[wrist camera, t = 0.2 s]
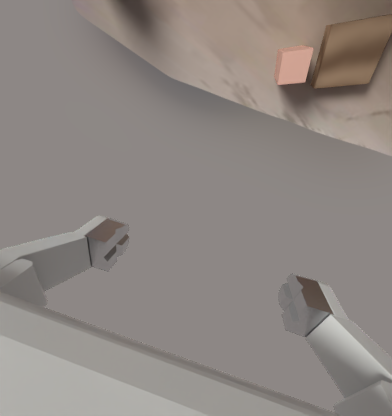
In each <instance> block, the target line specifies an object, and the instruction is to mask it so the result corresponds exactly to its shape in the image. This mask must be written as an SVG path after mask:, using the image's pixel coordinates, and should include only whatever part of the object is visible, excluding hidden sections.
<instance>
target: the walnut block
mask: <svg viewBox="0 0 392 416" xmlns="http://www.w3.org/2000/svg"><path fill="white" fill-rule="evenodd" d="M391 33H392V14H389V15H383V16H378V17H372V18H366V19H360V20H355V21H349V22H343V23H338V24H332V25H327V26H326V29H325V33H324V37H323V40H322V44H321V48H320V52H319V55H318V59H317V63H316V67H315V70H314V74H313V78H312V82H311V86H312V87H313V88H314V89H316V88H326V87H337V86H348V85H358V84H368V83H369V81H370V79H371V77H372V75H373V73H374V70H375V68H376V66H377V64H378V62H379V59H380V57H381V55H382V53H383V51H384V48H385V46H386V44H387V42H388V40H389V37H390V35H391Z"/></svg>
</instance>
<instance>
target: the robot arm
mask: <svg viewBox="0 0 392 416" xmlns="http://www.w3.org/2000/svg"><path fill="white" fill-rule="evenodd" d="M128 231H129V225H128V224H126V223H123V222H120V221H117V220H114V219H111V218H107V217H104V216H101V215H100V216H97V217H95V218H94V219H92V220H91V221H90V222H88V223H87V224H85V225H84V226H82V227H81V228H79V229H78V230H76V231H75V232H74V233H72V232H68V233H64V234H60V235H56V236H52V237H48V238H44V239H40V240H36V241H32V242H28V243H24V244H20V245H16V246H12V247H8V248H4V249H0V416H392V358H391V357H390V356H389V355H388V354H387V353H386V352H385V351H384V350H383V349H382V348H381V347H380V346H379V345H377V344H376V343H375V342H374V341H373V340H372V339H371V338H370V337H369V336H368V335H367V334H366V333H365V332H364V331H362V329H360V328H359V327H358V326H357V325H356V324H355V323H354V322H353V321H351V320H348V318H347V316H346V314H345V312H344V311H343V309H342V307H341V305H340V304H339V302H338V300H337V298H336V296H335V295H334V293H333V291H332V289H331V287H330V286H329V285H328V284H327V283H324V282H321V281H317V280H313V279H309V278H306V277H303V276H299V275H296V274H290V275H289V276H288V278H287V281H288V283H285V284H283V285H282V286H281V288H280V290H279V295H278V300H279V304H280V306H281V308H282V309H283V310H284V312H283V314H282V318H283V322H284V326H285V330H286V331H289V332H292V333H295V334H298V335H301V336H303V337H306V340H307V342H308V343H309V345H310V346H311V348H312V349H313V351H314V352H315V354H316V355H317V357H318V358H319V360H320V361H321V363H322V365H323V366H324V368H325V369H326V370H327V372H328V374H329V375H330V376H331V378H332V380H333V381H334V383H335V384H336V386H337V387H338V389H339V390H340V392H341V393H342V395H343V396H344V398H345V399H343V400H341V401H339V402H337V403H336V404H335V405H334V410H335V412H332V411H329V410H326V409H324V408H321V407H318V406H315V405H312V404H310V403H307V402H304V401H301V400H299V399H296V398H293V397H291V396H288V395H285V394H282V393H280V392H277V391H274V390H271V389H268V388H266V387H263V386H260V385H257V384H255V383H252V382H249V381H246V380H244V379H241V378H238V377H235V376H233V375H230V374H227V373H224V372H221V371H219V370H216V369H213V368H211V367H208V366H205V365H202V364H199V363H197V362H194V361H191V360H188V359H186V358H183V357H180V356H177V355H175V354H172V353H169V352H166V351H164V350H161V349H158V348H155V347H153V346H150V345H147V344H144V343H142V342H139V341H136V340H133V339H130V338H128V337H125V336H122V335H119V334H116V333H114V332H111V331H108V330H106V329H103V328H100V327H97V326H95V325H92V324H89V323H86V322H83V321H81V320H78V319H75V318H72V317H69V316H67V315H64V314H61V313H59V312H56V311H53V310H50V309H47V308H44V306H46V305H47V301H48V300H47V298H46V295H45V293H44V291H46V290H48V289H50V288H52V287H54V286H56V285H58V284H60V283H62V282H64V281H66V280H68V279H70V278H72V277H74V276H75V275H77V274H80V273H81V272H83V271H85V270H87V269H89V268H91V267H94V268H98V269H101V270H104V271H109V270H110V268H112V266H113V265H114V264H115V263H116V261H117V257H118V256H121V255H122V254H123V253H124V252H125V251H126V249H127V246H128V243H129V236H128V235H127V232H128Z"/></svg>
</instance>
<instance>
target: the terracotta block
mask: <svg viewBox="0 0 392 416" xmlns="http://www.w3.org/2000/svg"><path fill="white" fill-rule="evenodd" d="M313 49H314V48H311V47H307V46H304V45H302V46H296V47H289V48H283V49H278V54H277V61H276V68H275V75H274V77H275V80H276V82H277V84H278V85H283V84H293V83H302V82H305V81H306V77H307V73H308V69H309V65H310V61H311V57H312V53H313Z"/></svg>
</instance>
